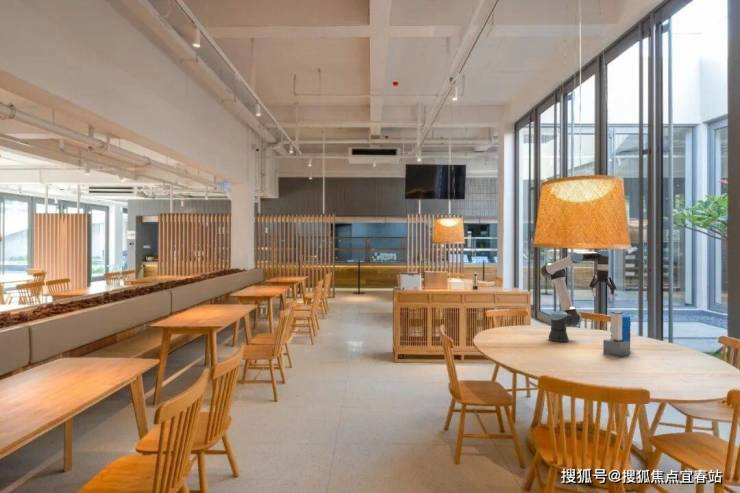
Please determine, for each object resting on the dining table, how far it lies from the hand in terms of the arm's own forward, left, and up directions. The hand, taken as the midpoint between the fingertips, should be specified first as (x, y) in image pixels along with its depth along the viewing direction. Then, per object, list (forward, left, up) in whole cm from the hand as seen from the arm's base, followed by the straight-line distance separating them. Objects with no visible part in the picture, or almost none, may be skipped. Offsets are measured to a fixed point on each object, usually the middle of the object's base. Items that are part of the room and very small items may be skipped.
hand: (602, 297), depth 317 cm
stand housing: (+17, -10, -38) cm, 43 cm away
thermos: (+10, +9, -39) cm, 41 cm away
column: (+17, -10, -30) cm, 36 cm away
